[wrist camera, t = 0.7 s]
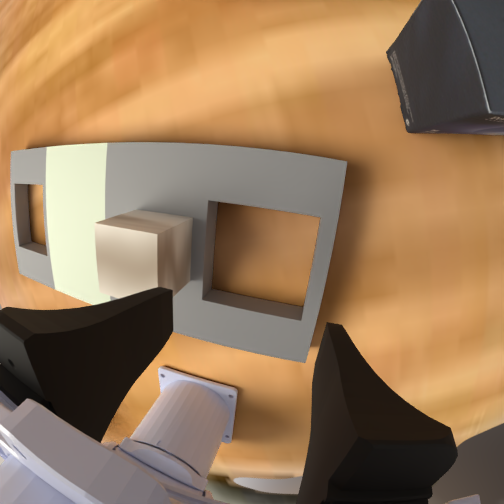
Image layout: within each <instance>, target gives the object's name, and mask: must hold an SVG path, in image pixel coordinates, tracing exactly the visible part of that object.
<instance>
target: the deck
mask: <svg viewBox="0 0 504 504" xmlns="http://www.w3.org/2000/svg"><path fill="white" fill-rule="evenodd" d="M346 167H347V161H342V160H336V159H331V158H325V157H319V156H312V155H306V154H299V153H292V152H284V151H276V150H268V149H259V148H249V147H238V146H226V145H212V144H194V143H166V142H119V143H92V144H76V145H63V146H51V147H42V148H33V149H25V150H18V151H11V207H12V221H13V231H14V240H15V248H16V255H17V261H18V267H19V273H20V274H22V275H24V276H26V277H28V278H31V279H33V280H35V281H37V282H39V283H42V284H44V285H46V286H48V287H51V288H53V289H55V290H58V291H60V292H62V293H65V294H67V295H70V296H72V297H75V298H77V299H80V300H82V301H85V302H87V303H90V304H92V305H96V304H101V303H105V302H108V301H112V300H116V299H118V298H115V297H112V296H109V295H106V294H103V293H100V290H99V281H98V272H97V260H96V246H95V225H94V223H96V222H99V221H102V220H105V219H108V218H111V217H114V216H117V215H120V214H123V213H127V212H130V211H133V210H144V211H151V212H158V213H165V214H172V215H179V216H186V217H192V218H193V226H192V245H191V269H190V282H189V283H188V284H187V285H186V286H184V287H183V288H182V289H181V290H180V291H179V292H178V293H177V294H176V295H175V296H174V297H173V329H174V330H173V332H175V333H179V334H182V335H186V336H189V337H193V338H196V339H200V340H204V341H208V342H211V343H215V344H219V345H223V346H227V347H231V348H235V349H240V350H244V351H248V352H253V353H257V354H262V355H267V356H271V357H276V358H281V359H286V360H292V361H297V362H302V363H305V362H306V359H307V355H308V352H309V348H310V344H311V340H312V337H313V333H314V329H315V325H316V321H317V317H318V313H319V309H320V305H321V301H322V296H323V292H324V288H325V283H326V279H327V274H328V269H329V265H330V260H331V255H332V250H333V245H334V240H335V234H336V229H337V224H338V218H339V212H340V206H341V200H342V194H343V188H344V181H345V174H346ZM28 184H38V185H43V208H44V225H45V237H46V246H45V245H41V244H38V243H35V242H32V241H31V232H30V220H29V204H28ZM218 202H225V203H232V204H239V205H246V206H253V207H260V208H266V209H273V210H279V211H286V212H292V213H298V214H304V215H310V216H315V217H320V223H319V229H318V234H317V240H316V246H315V251H314V257H313V262H312V267H311V272H310V277H309V282H308V287H307V292H306V297H305V302H304V306H303V307H300V306H295V305H289V304H284V303H279V302H274V301H269V300H264V299H259V298H254V297H249V296H244V295H239V294H234V293H230V292H225V291H220V290H216V289H212V277H213V262H214V247H215V234H216V221H217V210H218Z"/></svg>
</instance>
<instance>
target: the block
mask: <svg viewBox="0 0 504 504" xmlns="http://www.w3.org/2000/svg"><path fill="white" fill-rule="evenodd" d="M94 225H95V246H96V260H97V272H98V281H99V290H100V293H103V294H106V295H109V296H112V297H115V298H118V299H119V298H123V297H126V296H129V295H132V294H136V293H139V292H142V291H145V290H149V289H152V288H157V287H163V288H167V289H171V290H173V297H174V296H175V295H176V294H177V293H178V292H179V291H180V290H181V289H182V288H183V287H184V286H186V285H187V284H188V283H189V282H190V269H191V245H192V226H193V218H192V217H186V216H179V215H172V214H165V213H158V212H151V211H144V210H133V211H130V212H127V213H123V214H120V215H117V216H114V217H111V218H108V219H105V220H102V221H99V222H96V223H94Z"/></svg>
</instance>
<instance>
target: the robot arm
mask: <svg viewBox="0 0 504 504" xmlns="http://www.w3.org/2000/svg"><path fill="white" fill-rule="evenodd" d="M173 330H174V329H173V290H171V289H167V288H163V287H157V288H152V289H149V290H145V291H142V292H139V293H136V294H132V295H129V296H126V297H123V298H119V299H116V300H112V301H108V302H105V303H101V304H96V305H92V306H86V307H80V308H72V309H61V310H30V309H21V308H12V307H6V308H3V309H2V310H0V456H1V457H2V458H3V459H4V460H5V461H4V462H3V463H2V464H1V465H0V504H228V503H224V502H220V501H217V500H214V499H213V497H212V493H211V492H210V491H207V490H205V487H206V485H207V483H208V480H207V479H206V477H207V475H208V473H209V470H210V468H211V466H212V463H213V461H214V459H215V456H216V454H217V452H218V449H219V447H220V444H221V442H225V443H231V441H232V434H233V426H234V418H235V410H236V402H237V394H238V390H237V389H236V388H234V387H231V386H227V385H223V384H220V383H216V382H212V381H209V380H205V379H202V378H198V377H195V376H192V375H189V374H185V373H182V372H179V371H176V370H173V369H170V368H167V367H164V366H160V367H159V369H158V374H159V382H160V390H161V394H160V396H159V397H158V399H157V400H156V401H155V403H154V404H153V406H152V407H151V409H150V410H149V411H148V413H147V414H146V416H145V417H144V418H143V420H142V421H141V423H140V424H139V426H138V427H137V428H136V430H135V431H134V433H133V434H132V435H131V437H130V438H127V437H125V438H124V440H123V441H122V442H121V444H120V445H119V444H118V443H116V442H115V441H111V442H106V443H103V444H101V441H102V439H103V436H104V434H105V432H106V430H107V428H108V426H109V424H110V422H111V420H112V418H113V417H114V415H115V413H116V411H117V409H118V408H119V406H120V404H121V402H122V401H123V399H124V398H125V396H126V394H127V393H128V391H129V390H130V388H131V387H132V385H133V384H134V383H135V381H136V380H137V379H138V377H139V376H140V375H141V374H142V373H143V372H144V370H145V369H146V368H147V367H148V366H149V364H150V363H151V362H152V361H153V360H154V358H155V357H156V356H157V355H158V353H159V352H160V351H161V350H162V348H163V347H164V346H165V344H166V342H167V341H168V339H169V337H170V335H171V334H172V332H173ZM163 374H164V375H163ZM232 395H233V396H232ZM457 456H458V453H457V447H456V444H455V441H454V437H453V434H452V431H451V428H450V427H448V426H446V425H444V424H442V423H440V422H438V421H436V420H434V419H432V418H430V417H428V416H427V415H425V414H424V413H422V412H421V411H419V410H417V409H416V408H414V407H413V406H412V405H410V404H409V403H407V402H406V401H405V400H404V399H402V398H401V397H400V396H399V395H398V394H396V393H395V392H394V391H393V390H392V389H391V388H390V387H389V386H388V385H387V384H386V383H385V382H384V381H383V380H382V379H381V378H380V377H379V376H378V375H377V374H376V373H375V372H374V371H373V369H372V368H371V367H370V366H369V364H368V363H367V362H366V361H365V359H364V358H363V357H362V355H361V354H360V352H359V351H358V349H357V348H356V346H355V345H354V343H353V342H352V340H351V339H350V337H349V335H348V334H347V332H346V330H345V329H344V327H343V326H342V325H340V324H334V323H328V322H327V324H326V327H325V331H324V335H323V338H322V342H321V345H320V348H319V352H318V355H317V359H316V362H315V368H314V375H313V382H312V415H311V434H310V441H309V447H308V453H307V458H306V463H305V468H304V473H303V477H302V482H301V486H300V490H299V494H298V498H297V502H296V504H428V499H429V498H430V497H432V485H433V484H434V483H435V482H436V481H437V480H439V479H440V478H441V477H442V476H443V475H444V474H445V473H446V472H447V471H448V470H449V469H450V468H451V466H452V465H453V464H454V462H455V461H456V458H457ZM444 504H481V503H480V499H479V495H477V494H476V495H472V496H468V497H464V498H460V499H455V500H452V501H449V502H447V503H444Z"/></svg>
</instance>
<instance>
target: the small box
mask: <svg viewBox="0 0 504 504" xmlns="http://www.w3.org/2000/svg"><path fill="white" fill-rule="evenodd" d="M386 53H387V58H388V60H389V62H390V64H391V67H392V68H391V70H392V71H393V74H394V78H395V83H396V85H397V89H398V95H399V98H400V103H401V105H400V107H401V111H402V114H403V118H404V122H405V126H406V130H407V132H408V133H453V134H482V135H504V0H421V2H420V4H419V5H418V7H417V8H416V10H415V11H414V13H413V14H412V16H411V17H410V19H409V21H408V22H407V24H406V25H405V27H404V28H403V30H402V31H401V33H400V34H399V36H398V37H397V38H396V40H395V41H394V43H393V44H392V45H391V47H390V48H389V49H388V50H387V51H386Z"/></svg>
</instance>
